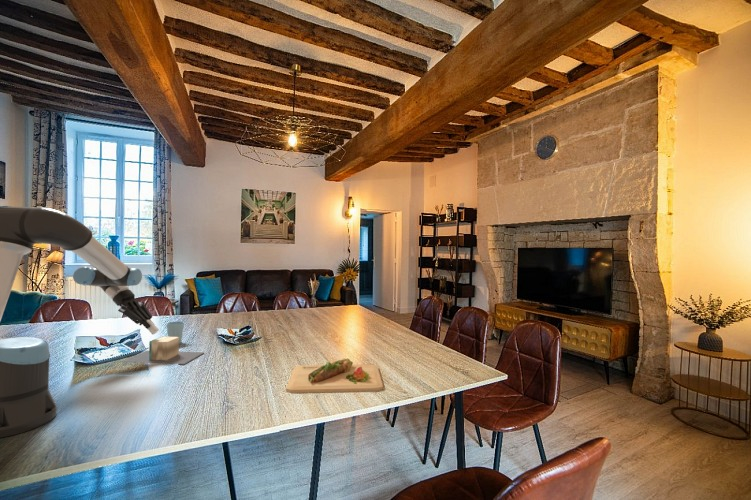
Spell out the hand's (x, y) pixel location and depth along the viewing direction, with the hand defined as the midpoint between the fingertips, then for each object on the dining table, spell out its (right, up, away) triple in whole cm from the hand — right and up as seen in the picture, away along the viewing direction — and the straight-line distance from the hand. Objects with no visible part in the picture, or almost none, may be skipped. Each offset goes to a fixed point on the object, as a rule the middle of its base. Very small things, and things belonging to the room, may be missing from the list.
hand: (155, 332), depth 143 cm
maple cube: (0, -7, 0) cm, 7 cm away
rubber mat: (+4, -12, 0) cm, 12 cm away
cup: (-5, -12, +22) cm, 25 cm away
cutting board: (+84, -14, -18) cm, 87 cm away
